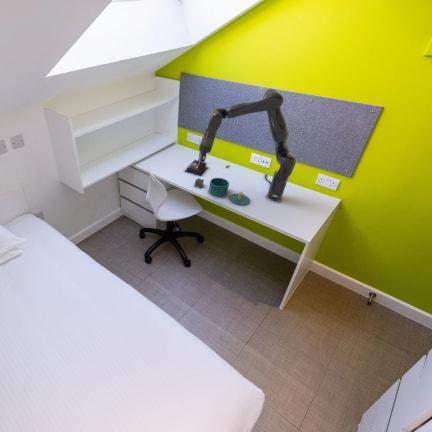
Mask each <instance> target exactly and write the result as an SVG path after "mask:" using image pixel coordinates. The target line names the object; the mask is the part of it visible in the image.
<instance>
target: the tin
mask: <svg viewBox="0 0 432 432" xmlns="http://www.w3.org/2000/svg"><path fill="white" fill-rule="evenodd" d="M229 186H230V181H229V180H227V179H225V178H223V177H213V178H211V179H210V181H209V187H208V193H209V195H211V196H213V197H215V198H223V197H226V196H227V195H228V190H229Z"/></svg>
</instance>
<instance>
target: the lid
mask: <svg viewBox="0 0 432 432" xmlns="http://www.w3.org/2000/svg"><path fill="white" fill-rule="evenodd" d="M228 199H229V202H231V203H232V204H234V205H236V206H240V207H241V206H248V205H249V204H250V203H251V199H250V198H249V196H247V195H245V194H244V192H243V191H239V193H232V194H230V195H229V196H228Z"/></svg>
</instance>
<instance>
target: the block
mask: <svg viewBox="0 0 432 432" xmlns="http://www.w3.org/2000/svg"><path fill="white" fill-rule="evenodd" d="M204 182H205V180H204V179H202V178H199V177H198V178H196V180H195V181H194V187H196V188H199V189H201V188H202V187H203V186H204Z"/></svg>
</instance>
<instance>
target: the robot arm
mask: <svg viewBox="0 0 432 432" xmlns="http://www.w3.org/2000/svg"><path fill="white" fill-rule="evenodd" d="M284 100H285V99H284V96H283V95H282V94H281V92H280V91H279V90H278V89H275V88H269V89H267V90H266V91H265V92H264V93H263V96H262V99H261V100H257V101H249V102H248V101H247V102H240V103H239V102H238V103H236V104H233V105H229V106H225V107H218V108H214V109H212V110H211V111H210V112H209V114H208V118H209V122H208V125H207V126H206V127H205V129H204V132H203V136H202V138H201V140H200V144H199V147H198V150H199V153H200V155H199V154H198V159H199V160H197V161H198V164H199V166H198V170H201V168H202V165H204V162H205V163H206V159H207V156H208V155H207V154H209V153H211V152H212V149H213V146H214V143H215V139H216V136H217V133H218V130H219V129H220V127H221V125H222V122H223V120H225V119H228V120H232V119H236V118H239V117H242V116H247V115H251V114H256V113H261V112H266V114H267V119H268V126H269V132H270V135H271V139H272V142H273V146H274V150H275V160H276V163H277V164H278V165H279V168H278V169H276V170H274V171H273V174H272V175H273V176H272V179H271V181H270V180H269V179H268V178H267V176H268V175H267V174H266V173H265V175H264V179H265V180H266V181H267V183H269V184H270V185H269V188H268V192H267V194H266V198H267V200H269V201H272V202H277V203H278V202H281V201H282V197H283V194H284V191H285V189H286V186H287V184H288V180H289V178H290V176H291V175H292V173H293V171H294V168H295V167H296V163H297V159H296V157H295V156H294V155H293V154H292V153H291V152H290V150H289V146H288V141H289V129H288V128H289V127H288V124H287V121H286V119H285V117H284V114H283V112H282V108H281V107H282V106H283V104H284ZM200 151H201V152H200ZM201 162H203V163H201Z"/></svg>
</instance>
